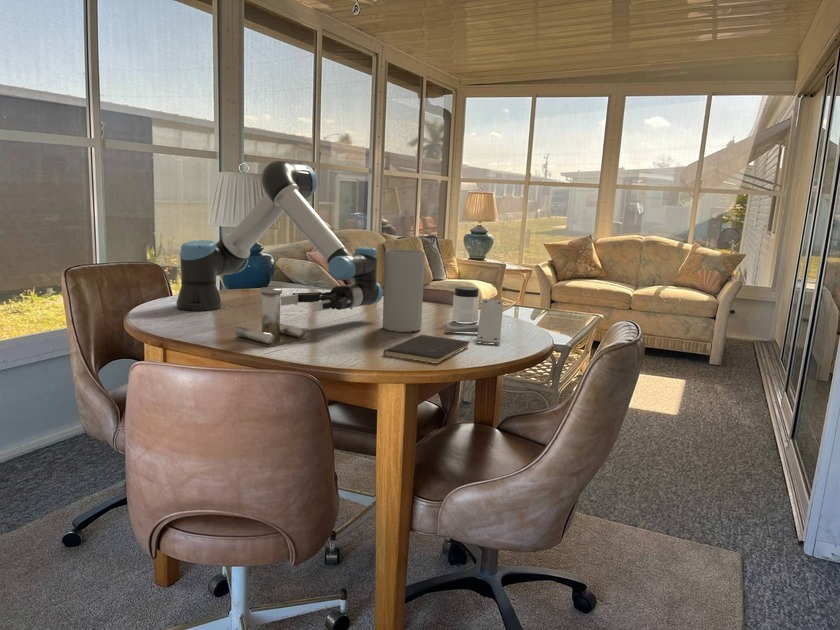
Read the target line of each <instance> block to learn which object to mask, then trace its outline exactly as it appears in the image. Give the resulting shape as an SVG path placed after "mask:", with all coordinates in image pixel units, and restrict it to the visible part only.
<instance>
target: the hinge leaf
mask: <svg viewBox="0 0 840 630" xmlns="http://www.w3.org/2000/svg"><path fill="white" fill-rule="evenodd" d="M305 334H306V330H305V329H304V328H302V327H298V326H295V325H288V324H286V323H285V324H284V323H280V338H277V339H275V337H274V335H273V334H269V333H265V332H262V331H259V330H256V329H250V328H247V327H242V326H238V327H237V328H236V329H235V336H234V340H237V339H238V340H237V341H242V342H245V343H250V344H253V345H257V346H261V347H266V348H272V347H276V346H277V347H278V346H280V345H286V344H292V343H296V342H301V341H305V340H307V337H306V336H305Z"/></svg>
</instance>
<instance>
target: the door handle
mask: <svg viewBox="0 0 840 630" xmlns="http://www.w3.org/2000/svg"><path fill="white" fill-rule="evenodd" d="M503 311H504V300H502V299H501V300H500V299H491V298H482V299H481V304H480V311H479V312H480V313H479V318H478V325H477V324H476V325H475V324H474V325H466V326H453V325H451V324H450V323H446V324H445V326H444V327H445V332H446V331H449V332H473V333H477V334H476V335H477V336H476V343H477V342H481V343H494V344H499V345H500V343H501V335H502V334H501V333H502V321H503V314H504V313H503Z"/></svg>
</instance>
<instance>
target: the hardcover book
mask: <svg viewBox="0 0 840 630" xmlns="http://www.w3.org/2000/svg"><path fill="white" fill-rule="evenodd" d="M470 343H471V342H470V341H467V340H461V339H455V338H448V337H447V338H446V337H441V336H440V337H439V336H434V335H426V334H419V335H416V336H414V337H412V338H409V339H408V340H407V339H406V340H405V341H403V342H399V343H398V344H396V345H393V346H391V347H388V348H386V349H383V354H382V355H389V356H388V357H390V356H395V357H394V358H396V357H402V358H401V359H403V358H410V359H417V360H425V361H430V362H439V361H441V360H443V359H445V358H447V357H449V356H450V355H452V354H454V353H456V352H458V351H460V350H461V349H463V348H465V347H467V346H468V347H469V344H470ZM460 352H461V351H460ZM458 353H459V352H458ZM449 358H450V357H449ZM447 359H448V358H447Z"/></svg>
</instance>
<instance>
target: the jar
mask: <svg viewBox="0 0 840 630" xmlns="http://www.w3.org/2000/svg"><path fill="white" fill-rule="evenodd" d="M479 290H480V289H479V288H477V287H473V286H456V287H454V294H453V297H452V300H453V301H452V312H451V313H452V314H451V317H452V318H451V321H452V320H454V321H457V322H474V321H477V320H478V321H479V310H480V309H479V308H480V307H479V306H480V296H479Z"/></svg>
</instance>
